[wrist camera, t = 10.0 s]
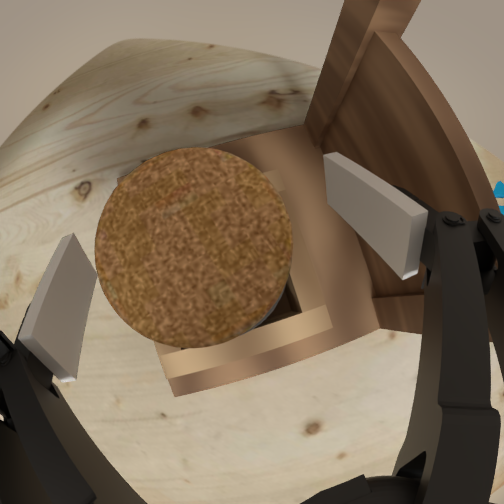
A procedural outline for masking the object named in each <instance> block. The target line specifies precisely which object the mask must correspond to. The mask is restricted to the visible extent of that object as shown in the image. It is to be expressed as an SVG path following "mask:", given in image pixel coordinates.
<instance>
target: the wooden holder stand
mask: <svg viewBox="0 0 504 504" xmlns="http://www.w3.org/2000/svg"><path fill="white" fill-rule="evenodd" d="M420 1H421V0H344V3H343V7H342V10H341V13H340V16H339V19H338V22H337V25H336V28H335V31H334V34H333V37H332V40H331V44H330V47H329V50H328V53H327V56H326V59H325V62H324V65H323V68H322V71H321V74H320V77H319V80H318V83H317V86H316V89H315V92H314V95H313V98H312V101H311V104H310V107H309V110H308V113H307V116H306V119H305V122H304V125H299V126H294V127H289V128H284V129H280V130H275V131H271V132H266V133H262V134H258V135H254V136H250V137H246V138H242V139H238V140H234V141H230V142H226V143H223V144H219V145H216V146H212V147H209V148H212V149H218V150H221V151H225V152H228V153H231V154H233V155H235V156H237V157H240V158H241V159H243V160H245V161H247V162H248V163H250V164H252V165H253V166H255V167H256V168H257V169H258V170H259V171H260V172H262V173H263V174H264V175H265V176H266V177H267V178H268V179H269V181H270V182H271V183H272V184H273V186H274V187H275V188H276V190H277V191H278V193H279V194H280V196H281V198H282V200H283V202H284V205H285V207H286V210H287V212H288V215H289V218H290V222H291V226H292V235H293V253H292V264H291V269H290V272H289V276H288V279H287V281H286V286H285V289H284V292H283V294H282V296H281V299H280V300H279V302H278V304H277V305H276V307H275V308H274V310H273V311H272V313H271V314H270V315H269V316H268V317H267V318H266V319H265V320H264V321H263V322H262V323H261V324H259V325H258V326H257V327H255V328H254V329H252V330H251V331H249V332H247V333H245V334H243V335H241V336H238V337H236V338H234V339H232V340H230V341H228V342H225V343H222V344H218V345H214V346H210V347H204V348H178V347H172V346H168V345H165V344H161V343H158V342H156V341H154V344H155V347H156V350H157V353H158V356H159V359H160V362H161V365H162V368H163V370H164V373H165V376H166V379H168V381H169V384H170V386H171V389H172V392H173V394H174V397H177V396H182V395H186V394H190V393H195V392H199V391H203V390H207V389H211V388H215V387H218V386H222V385H226V384H229V383H233V382H236V381H240V380H243V379H247V378H250V377H253V376H256V375H260V374H263V373H266V372H269V371H272V370H275V369H278V368H281V367H284V366H287V365H290V364H293V363H296V362H298V361H301V360H304V359H307V358H309V357H312V356H315V355H317V354H320V353H323V352H325V351H328V350H330V349H333V348H335V347H338V346H340V345H343V344H345V343H348V342H350V341H352V340H355V339H357V338H359V337H362V336H364V335H366V334H369V333H371V332H373V331H375V330H377V329H380V328H381V329H388V330H394V331H401V332H409V333H416V334H422V330H423V313H424V289H421V286H422V282H423V278H424V274H425V269H426V266H425V265H424V264H423V263H422V262H421V261H420V263H419V268H418V273H417V274H415V275H413V276H411V277H409V278H406V279H404V280H402V279H401V278H400V277H399V276H398V275H397V274H396V273H395V272H394V270H393V269H392V268H391V267H390V266H389V265H388V264H387V263H386V262H385V261H384V260H383V259H382V258H381V256H380V255H379V254H378V253H377V252H376V251H375V250H374V249H373V248H372V247H371V246H370V245H369V244H368V243H367V242H366V241H365V240H364V239H363V238H362V237H361V236H360V235H359V234H358V233H357V232H356V231H355V230H354V229H353V228H352V227H351V226H350V225H349V224H348V223H347V222H346V221H345V220H344V219H343V218H342V217H341V216H340V215H339V214H338V213H337V212H336V211H335V210H334V209H333V208H332V207H331V206H330V205H329V204H328V203H327V191H326V180H325V169H324V159H323V155H324V154H329V153H334V152H338V153H339V154H341V155H343V156H345V157H346V158H348V159H350V160H351V161H353V162H355V163H357V164H358V165H360V166H362V167H363V168H365V169H366V170H368V171H370V172H371V173H373V174H374V175H376V176H378V177H379V178H381V179H382V180H384V181H385V182H387V183H388V184H390V185H396V186H398V187H401V188H404V189H406V190H407V191H409V192H410V193H412V194H413V195H415V196H416V197H418V198H419V200H420V199H421V200H422V201H424V202H425V203H426V204H428V205H429V206H431V207H432V208H433V209H435V210H436V211H438V212H443V211H450V212H454V213H457V214H459V215H461V216H463V217H464V218H465V219H466V221H477V220H478V218H479V213H480V210H482V209H485V208H489V209H491V208H492V209H494V210H498V211H499V212H500V213H501V211H500V209H499V206H498V203H497V200H496V198H495V195H494V193H493V190H492V188H491V185H490V183H489V180H488V178H487V176H486V173H485V171H484V169H483V167H482V165H481V162H480V160H479V158H478V156H477V154H476V152H475V150H474V148H473V146H472V144H471V142H470V140H469V138H468V136H467V134H466V133H465V131H464V129H463V127H462V125H461V124H460V122H459V120H458V118H457V117H456V115H455V113H454V112H453V110H452V108H451V107H450V105H449V103H448V102H447V100H446V99H445V97H444V96H443V94H442V93H441V91H440V90H439V88H438V87H437V85H436V84H435V83H434V81H433V79H432V78H431V76H430V75H429V74H428V72H427V71H426V70H425V68H424V67H423V65H422V64H421V63H420V62H419V60H418V59H417V58H416V56H415V55H414V54H413V53H412V51H411V50H410V49H409V48H408V47H407V45H406V44H405V43H404V42H403V41H402V39H401V36H402V34H403V33H404V31H405V29H406V27H407V25H408V23H409V22H410V20H411V18H412V16H413V14H414V12H415V11H416V9H417V7H418V5H419V3H420ZM126 176H127V175H125V176H122V177H120V178H117V182H118V185H119V184H120V182H121V181H122V180H123V179H124V178H125V177H126ZM495 266H496V267H497V269H498V263H497V259H496V262H495ZM488 332H489V342H493V340H492V337H491V334H490V331H489V328H488Z"/></svg>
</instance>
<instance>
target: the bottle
mask: <svg viewBox="0 0 504 504" xmlns="http://www.w3.org/2000/svg"><path fill="white" fill-rule="evenodd" d="M292 253H293V235H292V226H291V222H290V218H289V215H288V212H287V210H286V207H285V205H284V202H283V200H282V198H281V196H280V194H279V193H278V191H277V190H276V188H275V187H274V186H273V184H272V183H271V182H270V181H269V179H268V178H267V177H266V176H265V175H264V174H263V173H262V172H260V171H259V170H258V169H257V168H256V167H255V166H253V165H252V164H250V163H248V162H247V161H245V160H243V159H241V158H240V157H237V156H235V155H233V154H231V153H228V152H225V151H221V150H218V149H212V148H200V147H191V148H182V149H176V150H172V151H168V152H164V153H162V154H160V155H158V156H156V157H153V158H151V159H149V160H147V161H145V162H144V163H142V164H141V165H140V166H138V167H137V168H136V169H134V170H133V171H132V172H131V173H129V174H128V175H127V176H126V177H125V178H124V179H123V180H122V181H121V182H120V184H119V185H118V186H117V187H116V188H115V189H114V191H113V193H112V194H111V196H110V198H109V199H108V201H107V203H106V205H105V207H104V209H103V212H102V214H101V217H100V220H99V223H98V227H97V232H96V237H95V263H96V270H97V274H98V278H99V281H100V285H101V287H102V290H103V292H104V294H105V296H106V298H107V299H108V301H109V303H110V304H111V306H112V307H113V309H114V310H115V311H116V313H117V314H118V315H119V316H120V317H121V318H122V319H123V320H124V321H125V322H126V323H127V324H128V325H129V326H130V327H131V328H132V329H134V330H135V331H137V332H138V333H140V334H141V335H143V336H145V337H147V338H149V339H151V340H153V341H156V342H158V343H161V344H165V345H168V346H172V347H178V348H204V347H210V346H214V345H218V344H222V343H225V342H228V341H230V340H232V339H234V338H236V337H238V336H241V335H243V334H245V333H247V332H249V331H251V330H252V329H254V328H255V327H257V326H258V325H259V324H261V323H262V322H263V321H264V320H265V319H266V318H267V317H268V316H269V315H270V314H271V313H272V311H273V310H274V308H275V307H276V305H277V304H278V302H279V300H280V299H281V296H282V294H283V292H284V289H285V286H286V281H287V279H288V276H289V272H290V269H291V264H292Z"/></svg>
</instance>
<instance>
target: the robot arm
mask: <svg viewBox="0 0 504 504" xmlns="http://www.w3.org/2000/svg"><path fill="white" fill-rule="evenodd" d="M323 159H324V169H325V180H326V191H327V203H328V204H329V205H330V206H331V207H332V208H333V209H334V210H335V211H336V212H337V213H338V214H339V215H340V216H341V217H342V218H343V219H344V220H345V221H346V222H347V223H348V224H349V225H350V226H351V227H352V228H353V229H354V230H355V231H356V232H357V233H358V234H359V235H360V236H361V237H362V238H363V239H364V240H365V241H366V242H367V243H368V244H369V245H370V246H371V247H372V248H373V249H374V250H375V251H376V252H377V253H378V254H379V255H380V256H381V258H382V259H383V260H384V261H385V262H386V263H387V264H388V265H389V266H390V267H391V268H392V269H393V270H394V272H395V273H396V274H397V275H398V276H399V277H400V278H401V279H402V280H404V279H406V278H409V277H411V276H413V275H415V274H417V273H418V268H419V263H420V261H421V262H422V263H423V264H424V265H425V266H426V269H425V274H424V278H423V282H422V286H421V289H424V313H423V330H422V342H421V352H420V361H419V369H418V377H417V383H416V390H415V396H414V402H413V407H412V412H411V417H410V422H409V426H408V431H407V435H406V438H405V441H404V444H403V446H402V448H401V450H400V452H399V455H398V457H397V461H396V464H395V467H394V470H393V473H392V476H376V477H369V478H365V476H364V474H363V475H360V476H358V477H356V478H354V479H351V480H349V481H346V482H344V483H342V484H339V485H337V486H334V487H331V488H329V489H326V490H323V491H320V492H319V493H317V494H316V495H314V496H312V497H311V498H309V499H307V500H306V501H304V502H302V503H300V504H494V503H490V502H489V498H490V494H491V489H492V485H493V480H494V475H495V469H496V463H497V456H498V448H499V439H500V428H501V420H500V414H499V412H498V410H496V409H494V408H492V406H491V401H490V395H491V366H490V345H489V332H488V328H489V331H490V334H491V337H492V340H493V344H494V347H495V350H496V354H497V357H498V361H499V365H500V369H501V373H502V377H503V381H504V215H503V214H502V213H500V212H499V211H498V210H494V209H492V208H491V209H489V208H485V209H482V210H480V213H479V218H478V220H477V221H466V219H465V218H464V217H463V216H461V215H459V214H457V213H454V212H450V211H443V212H438V211H436V210H435V209H433V208H432V207H431V206H429V205H428V204H426V203H425V202H424V201H422V200H421V199H420V200H419V198H418V197H416V196H415V195H413V194H412V193H410V192H409V191H407V190H406V189H404V188H401V187H398V186H396V185H390V184H388V183H387V182H385V181H384V180H382V179H381V178H379V177H378V176H376V175H374V174H373V173H371V172H370V171H368V170H366V169H365V168H363V167H362V166H360V165H358V164H357V163H355V162H353V161H351V160H350V159H348V158H346V157H345V156H343V155H341V154H339V153H338V152H334V153H329V154H324V155H323ZM496 259H497V263H498V269H497V267H496V266H495V262H496ZM97 276H98V275H97V273H96V271H95V270H94V268H93V266H92V264H91V263H90V261H89V259H88V258H87V256H86V254H85V252H84V251H83V249H82V247H81V245H80V243H79V242H78V240H77V238H76V236H75V234H74V233H72V234H70V235H67V236H65V237H63V238H62V239H61V241H60V243H59V245H58V247H57V249H56V250H55V252H54V254H53V256H52V258H51V260H50V262H49V264H48V266H47V268H46V271H45V273H44V275H43V277H42V279H41V281H40V284H39V286H38V288H37V290H36V293H35V295H34V297H33V300H32V302H31V303H30V305H29V306H28V308H27V311H26V313H25V317H24V318H23V321H22V324H21V326H20V329H19V332H18V334H17V337H16V340H15V343H14V344H13V343H12V342H11V341H10V340H9V339H8V338H7V336H6V335H5V334H4V333H3V332H2V331H0V414H1V415H2V416H3V418H4V421H2V420H0V504H147V503H146V502H145V501H144V500H143V499H142V498H141V497H140V496H139V495H138V494H137V493H136V492H135V491H134V490H133V489H132V487H131V486H130V485H129V484H128V483H127V482H126V481H125V480H124V479H123V478H122V476H121V475H120V474H119V473H118V472H117V471H116V470H115V468H114V467H113V466H112V465H111V464H110V462H109V461H108V460H107V459H106V457H105V456H104V455H103V454H102V452H101V451H100V450H99V448H98V447H97V446H96V445H95V443H94V442H93V441H92V439H91V438H90V436H89V435H88V434H87V432H86V431H85V429H84V428H83V427H82V425H81V424H80V422H79V421H78V419H77V418H76V416H75V415H74V413H73V412H72V410H71V408H70V407H69V405H68V404H67V402H66V400H65V399H64V397H63V395H62V394H61V392H60V390H59V389H58V387H57V386H56V385H55V384H54V383H53V382H52V378H53V374H54V375H55V376H56V377H57V378H58V379H59V380H60V381H61V382H68V381H74V380H76V379H77V372H78V365H79V359H80V353H81V347H82V341H83V336H84V331H85V326H86V321H87V317H88V312H89V308H90V303H91V299H92V295H93V291H94V287H95V283H96V279H97Z"/></svg>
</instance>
